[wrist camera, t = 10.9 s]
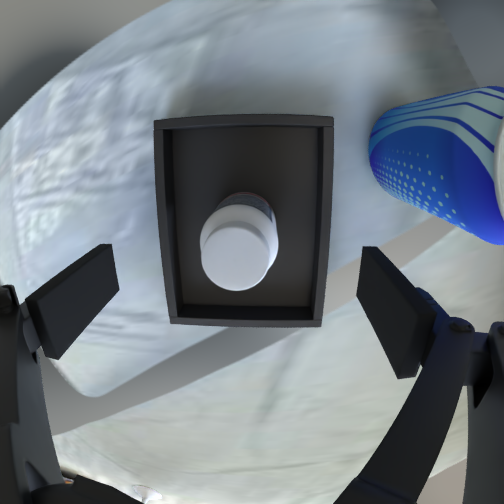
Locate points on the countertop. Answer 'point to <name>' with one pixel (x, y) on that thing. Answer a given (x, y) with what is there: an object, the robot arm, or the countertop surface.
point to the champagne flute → (146, 493)
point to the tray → (253, 181)
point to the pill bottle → (239, 241)
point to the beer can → (446, 158)
